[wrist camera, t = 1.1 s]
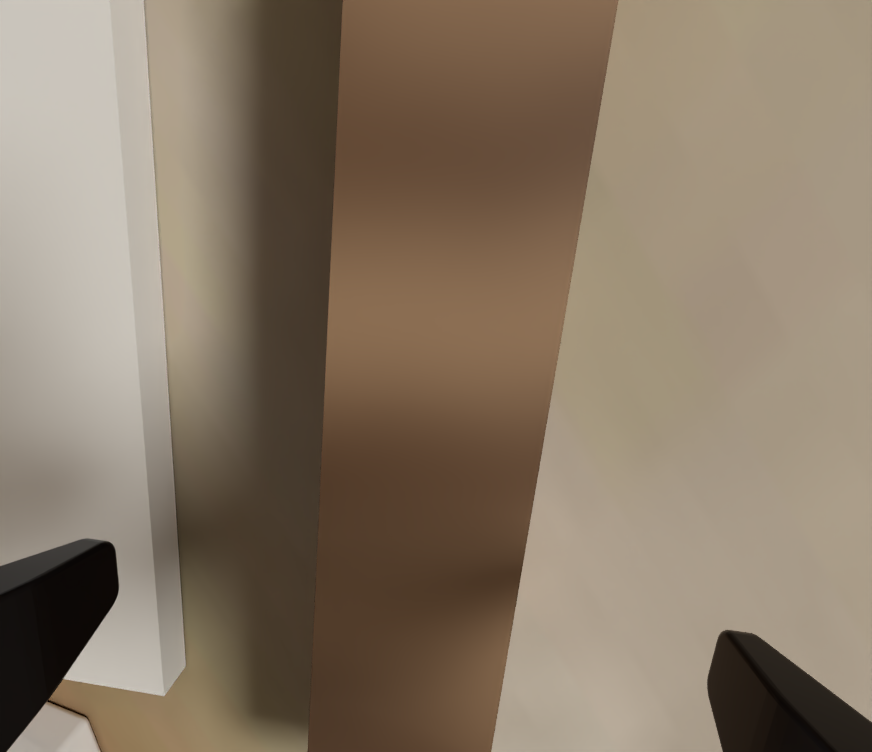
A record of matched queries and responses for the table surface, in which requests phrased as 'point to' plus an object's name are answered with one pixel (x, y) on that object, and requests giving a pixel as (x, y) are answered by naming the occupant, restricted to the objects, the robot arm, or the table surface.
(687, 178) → the table surface
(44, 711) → the jar
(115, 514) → the mounting board
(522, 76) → the walnut rail
